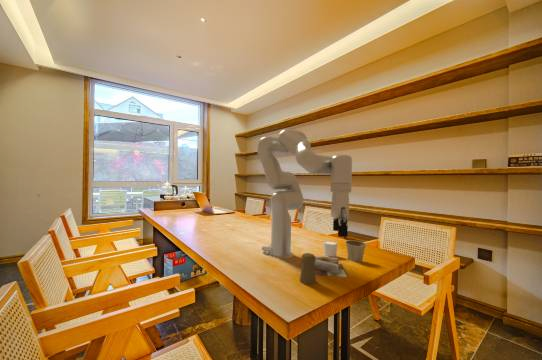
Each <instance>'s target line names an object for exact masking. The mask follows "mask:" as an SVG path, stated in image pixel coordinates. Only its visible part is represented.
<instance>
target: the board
mask: <svg viewBox="0 0 542 360" xmlns="http://www.w3.org/2000/svg"><path fill="white" fill-rule="evenodd" d="M314 256H315V255H314ZM315 258H316V259H318V260H322V261H326V262H330V263H334V264H338V273H337V274H334V273H330V272H327V271H323V270H319V269H316V268H314V270H315V276H322V277H323V276H325V277H336V278H349V276H348V274H347V272H346V269H345V268H344V266H343V263H339V261H340V260H339V258H338V257H330V256H317V255H316V256H315Z"/></svg>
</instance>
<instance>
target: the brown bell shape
mask: <svg viewBox="0 0 542 360" xmlns="http://www.w3.org/2000/svg"><path fill="white" fill-rule="evenodd" d="M300 261H301V263H302V265H301V271H300V275H299V282H300V283H301V284H303V285H305V286H307V285H308V286H312V285H315V284H316V282H317V281H316V275H315V270H314V263H315V261H316V258H315V254H313V253H309V252H305V253H303V254H301V257H300Z"/></svg>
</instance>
